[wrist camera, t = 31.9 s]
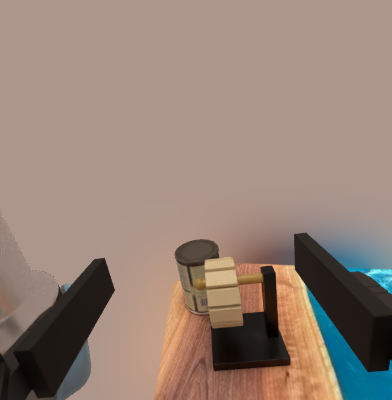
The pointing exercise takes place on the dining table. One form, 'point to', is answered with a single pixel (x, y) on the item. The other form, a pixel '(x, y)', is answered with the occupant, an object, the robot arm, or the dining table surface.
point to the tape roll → (223, 293)
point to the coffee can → (195, 272)
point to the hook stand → (251, 331)
